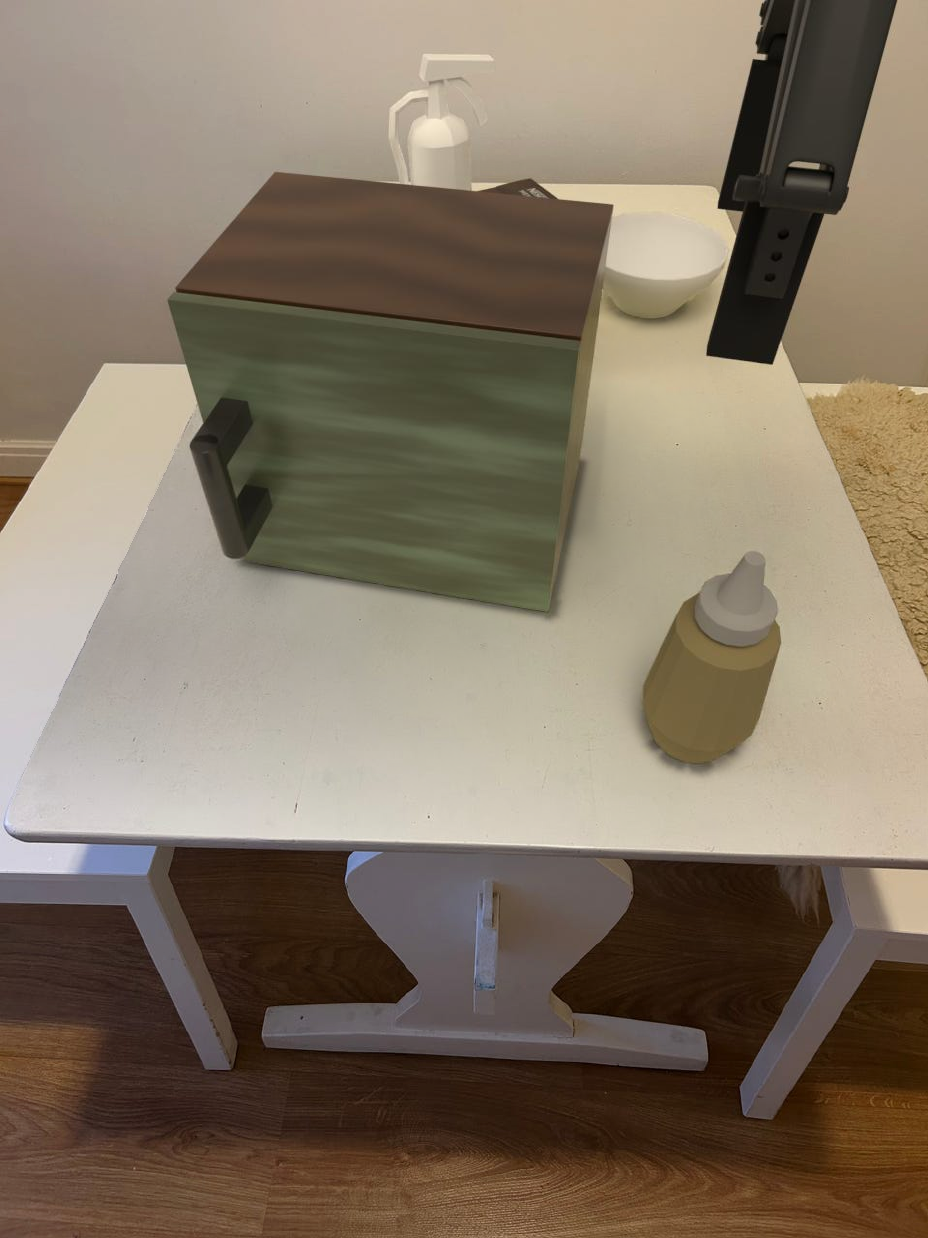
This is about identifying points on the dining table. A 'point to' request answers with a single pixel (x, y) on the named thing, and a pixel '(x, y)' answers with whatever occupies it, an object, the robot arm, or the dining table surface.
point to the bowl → (660, 262)
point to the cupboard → (422, 264)
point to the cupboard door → (381, 445)
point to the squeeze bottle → (715, 666)
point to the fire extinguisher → (440, 123)
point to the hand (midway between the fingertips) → (741, 274)
